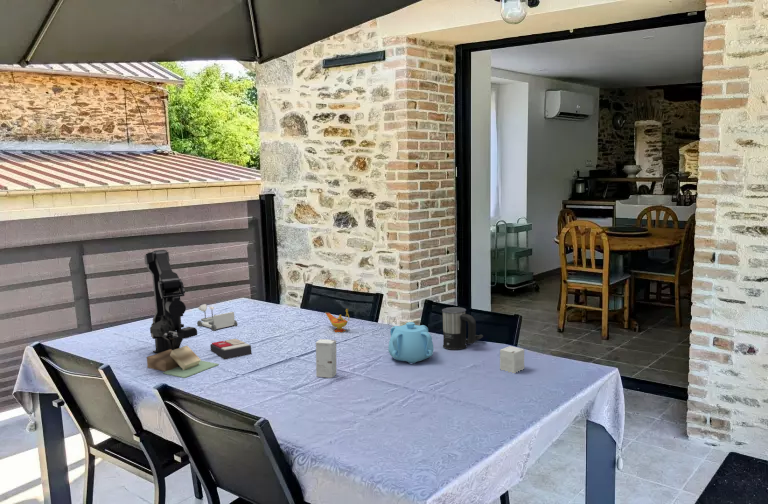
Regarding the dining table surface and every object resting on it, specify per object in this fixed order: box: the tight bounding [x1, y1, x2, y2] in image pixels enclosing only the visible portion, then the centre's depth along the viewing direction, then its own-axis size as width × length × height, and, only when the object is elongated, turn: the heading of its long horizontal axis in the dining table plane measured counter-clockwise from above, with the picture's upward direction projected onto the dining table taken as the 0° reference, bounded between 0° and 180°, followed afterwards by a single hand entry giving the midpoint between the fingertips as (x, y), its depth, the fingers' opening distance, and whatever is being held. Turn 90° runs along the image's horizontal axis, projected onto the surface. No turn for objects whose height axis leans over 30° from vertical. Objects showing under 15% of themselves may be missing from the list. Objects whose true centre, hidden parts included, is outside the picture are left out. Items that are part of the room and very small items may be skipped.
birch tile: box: [170, 345, 202, 370], centre depth 227 cm, size 8×7×2 cm
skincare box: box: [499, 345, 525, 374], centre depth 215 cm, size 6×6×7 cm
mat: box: [162, 360, 220, 379], centre depth 225 cm, size 11×16×1 cm
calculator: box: [209, 338, 252, 360], centre depth 245 cm, size 11×4×15 cm
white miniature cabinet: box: [315, 338, 337, 379], centre depth 213 cm, size 6×4×12 cm
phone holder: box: [196, 303, 238, 332], centre depth 287 cm, size 18×10×12 cm
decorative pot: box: [388, 321, 434, 364], centre depth 230 cm, size 16×16×14 cm
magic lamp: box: [324, 308, 350, 333], centre depth 273 cm, size 7×18×11 cm, turn 40°
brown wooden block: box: [146, 349, 179, 372], centre depth 230 cm, size 10×12×4 cm
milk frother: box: [441, 306, 484, 351], centre depth 245 cm, size 14×16×15 cm
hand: (175, 353), depth 228 cm, fingers closed
